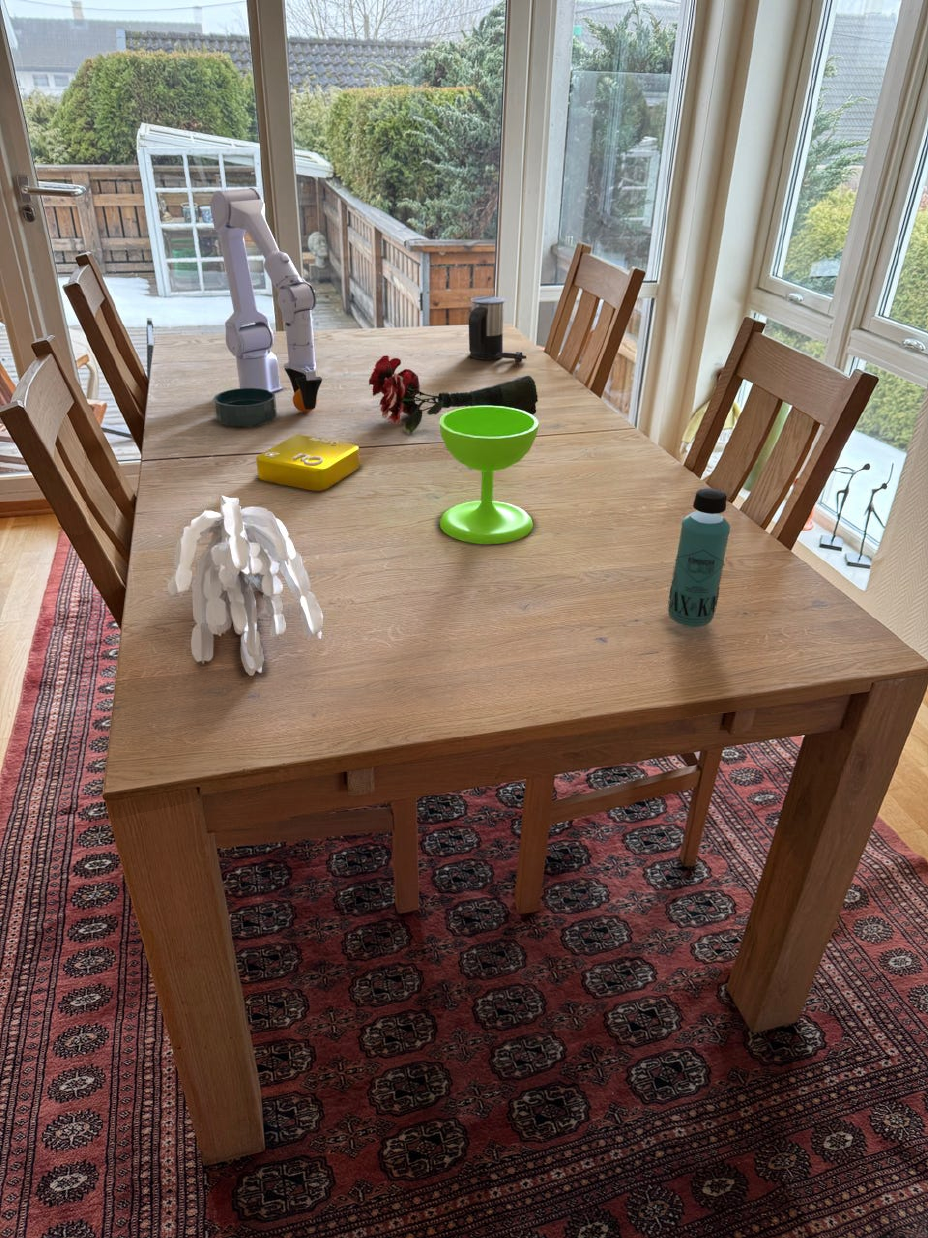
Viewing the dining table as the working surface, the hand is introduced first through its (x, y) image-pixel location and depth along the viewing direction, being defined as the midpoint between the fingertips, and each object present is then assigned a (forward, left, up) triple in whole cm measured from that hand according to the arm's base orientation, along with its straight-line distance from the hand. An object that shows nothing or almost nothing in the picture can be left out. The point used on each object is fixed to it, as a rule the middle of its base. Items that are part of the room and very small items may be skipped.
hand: (305, 403), depth 205 cm
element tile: (+27, +24, -2) cm, 37 cm away
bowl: (+11, -8, -2) cm, 13 cm away
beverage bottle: (+41, +105, -2) cm, 113 cm away
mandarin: (0, 0, +1) cm, 1 cm away
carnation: (-14, +30, -2) cm, 33 cm away
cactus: (+73, +52, -2) cm, 90 cm away
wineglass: (+28, +64, -2) cm, 71 cm away
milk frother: (-63, +13, -2) cm, 64 cm away
